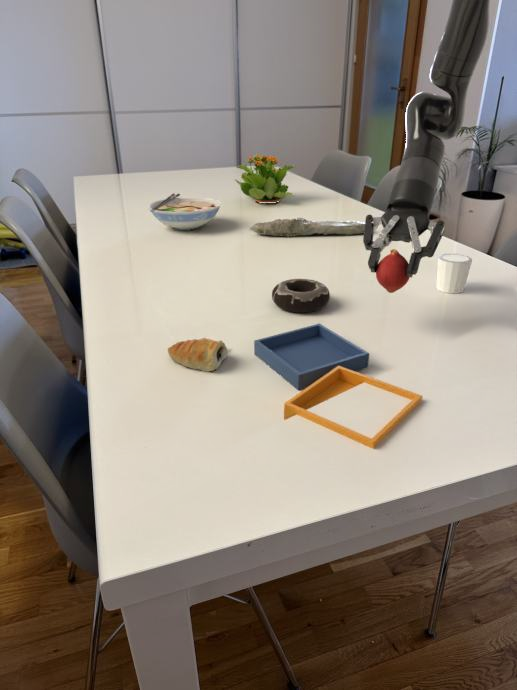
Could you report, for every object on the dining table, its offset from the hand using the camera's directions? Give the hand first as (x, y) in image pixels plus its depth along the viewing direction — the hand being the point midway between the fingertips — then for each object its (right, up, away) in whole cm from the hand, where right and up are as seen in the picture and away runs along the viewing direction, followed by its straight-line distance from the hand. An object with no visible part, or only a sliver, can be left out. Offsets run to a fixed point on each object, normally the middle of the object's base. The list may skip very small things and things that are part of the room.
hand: (390, 272), depth 88 cm
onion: (+1, -3, +3) cm, 5 cm away
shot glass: (+19, 0, +23) cm, 30 cm away
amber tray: (-10, -22, -19) cm, 31 cm away
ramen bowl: (-46, +25, +75) cm, 91 cm away
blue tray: (-15, -15, -5) cm, 22 cm away
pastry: (-32, -15, -5) cm, 36 cm away
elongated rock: (-7, +21, +66) cm, 70 cm away
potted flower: (-19, +42, +109) cm, 118 cm away
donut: (-14, -4, +16) cm, 22 cm away
